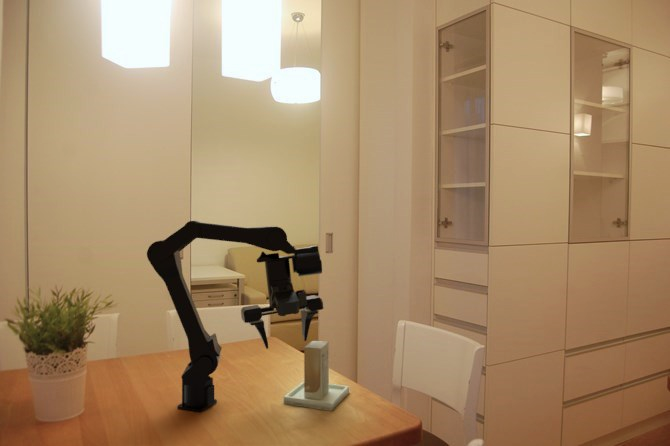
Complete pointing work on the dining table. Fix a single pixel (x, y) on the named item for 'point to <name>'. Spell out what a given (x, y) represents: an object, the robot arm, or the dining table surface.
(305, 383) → the skincare box
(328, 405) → the sage dish
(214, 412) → the dining table surface
